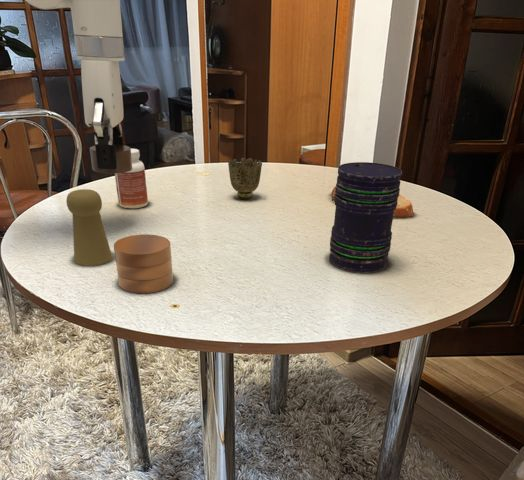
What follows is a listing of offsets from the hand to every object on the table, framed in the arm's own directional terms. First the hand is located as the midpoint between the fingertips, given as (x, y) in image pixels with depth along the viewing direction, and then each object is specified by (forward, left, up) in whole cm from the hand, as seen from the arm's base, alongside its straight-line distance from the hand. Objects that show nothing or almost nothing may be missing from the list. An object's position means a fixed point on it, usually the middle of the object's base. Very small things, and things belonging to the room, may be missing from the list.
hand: (111, 162), depth 92 cm
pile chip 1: (+9, -26, -7) cm, 28 cm away
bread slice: (+53, +15, -12) cm, 56 cm away
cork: (-1, -17, -12) cm, 21 cm away
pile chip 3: (+9, -26, -11) cm, 30 cm away
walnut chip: (0, 0, -1) cm, 1 cm away
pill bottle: (+1, +13, -12) cm, 18 cm away
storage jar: (+43, -18, -12) cm, 48 cm away
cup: (+25, +19, -12) cm, 33 cm away
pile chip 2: (+9, -26, -9) cm, 29 cm away
